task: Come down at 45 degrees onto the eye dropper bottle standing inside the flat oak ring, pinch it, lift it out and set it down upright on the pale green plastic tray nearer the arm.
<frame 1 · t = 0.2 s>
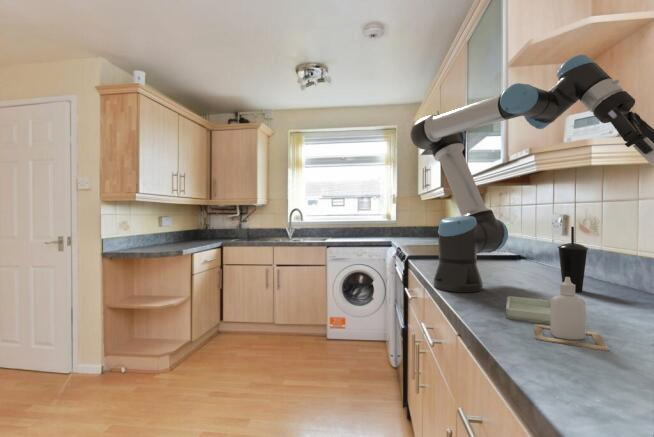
eye dropper bottle: (567, 337, 64), on the countertop
tray: (530, 314, 78), on the countertop
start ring: (567, 336, 64), on the countertop
drinking cup: (572, 290, 101), on the countertop
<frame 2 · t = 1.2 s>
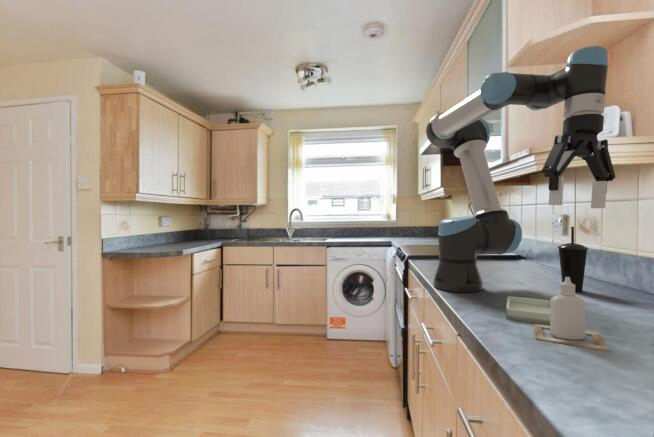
hand: (577, 206, 76), 26 cm above the countertop, tool pointing down, fingers open, 13 cm apart
nothing on the countertop moved.
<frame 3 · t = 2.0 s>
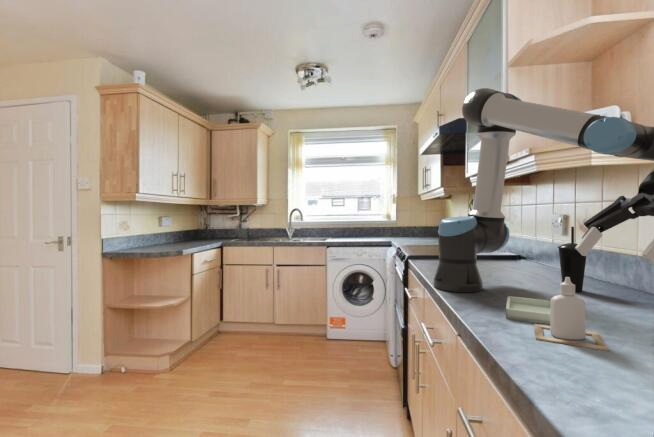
hand: (610, 255, 65), 16 cm above the countertop, tool tilted 45°, fingers open, 13 cm apart
nothing on the countertop moved.
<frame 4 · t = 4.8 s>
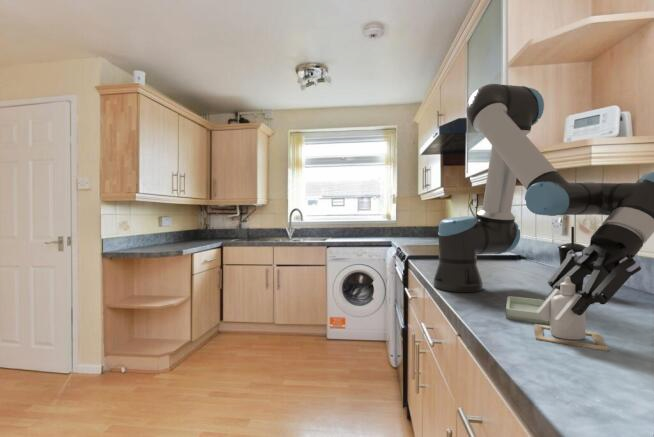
hand: (550, 320, 64), 4 cm above the countertop, tool tilted 45°, fingers closed on eye dropper bottle, 4 cm apart
eye dropper bottle: (567, 337, 64), on the countertop, touching gripper
everything else where it was.
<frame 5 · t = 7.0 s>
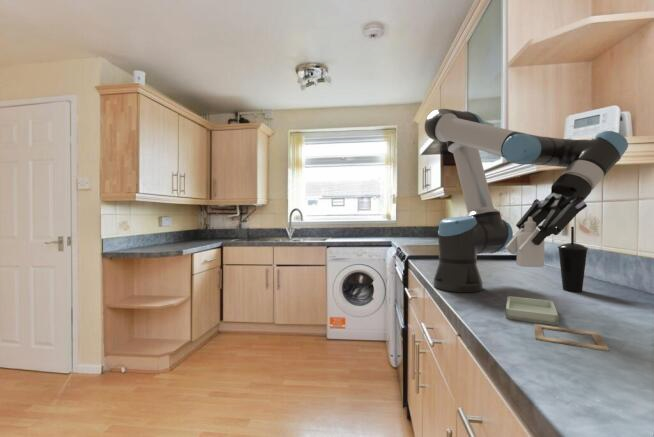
hand: (516, 251, 78), 15 cm above the countertop, tool tilted 45°, fingers closed on eye dropper bottle, 4 cm apart
eye dropper bottle: (530, 266, 78), point 12 cm above the countertop, touching gripper
everything else where it was.
when the fingers open (6 cm above the countertop, at t = 8.9 s): eye dropper bottle drops 1 cm, resting on tray.
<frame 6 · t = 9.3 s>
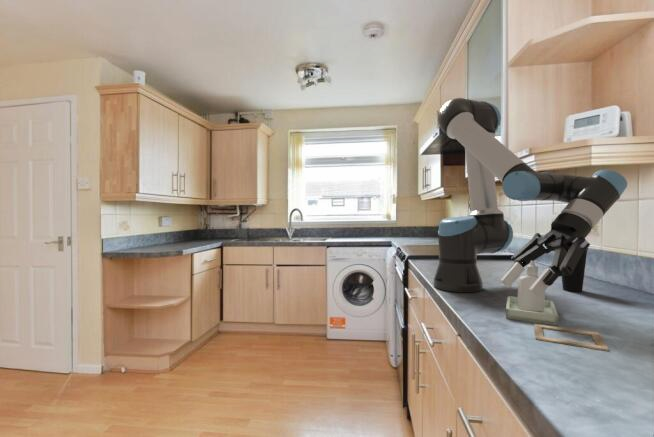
hand: (518, 288, 78), 6 cm above the countertop, tool tilted 45°, fingers open, 9 cm apart
eye dropper bottle: (530, 310, 78), point 1 cm above the countertop, touching tray
everything else where it was.
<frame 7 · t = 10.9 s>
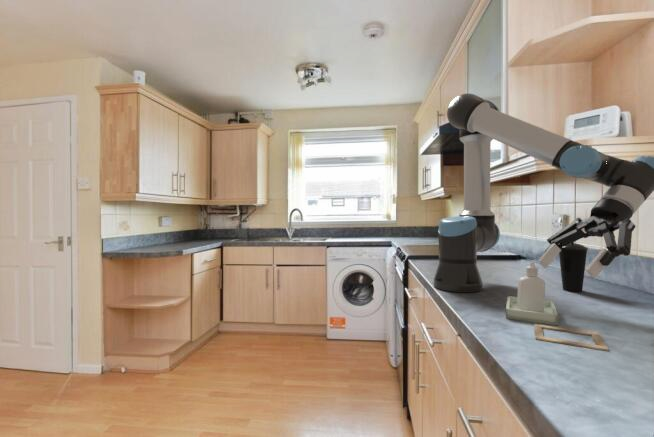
hand: (563, 268, 80), 11 cm above the countertop, tool tilted 45°, fingers open, 13 cm apart
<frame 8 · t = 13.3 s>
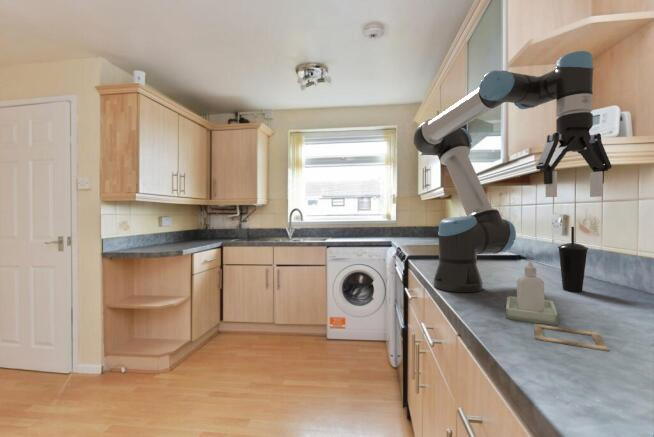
hand: (573, 197, 84), 29 cm above the countertop, tool pointing down, fingers open, 13 cm apart
nothing on the countertop moved.
at the end: eye dropper bottle inside the target area on the tray (0.1 cm from its centre), point 0.6 cm above the tray's base; eye dropper bottle tilted 0°; the gripper is holding nothing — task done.
